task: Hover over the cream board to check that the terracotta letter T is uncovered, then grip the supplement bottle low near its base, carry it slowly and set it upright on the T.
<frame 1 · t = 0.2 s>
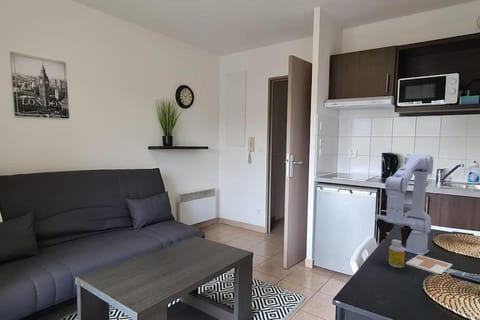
hand: (393, 242, 110), 10 cm above the table, tool pointing down, fingers open, 7 cm apart
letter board: (428, 264, 113), on the table
supplement bottle: (396, 265, 113), on the table
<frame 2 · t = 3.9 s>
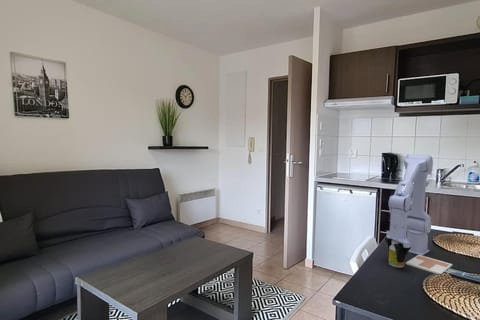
hand: (396, 259, 112), 2 cm above the table, tool pointing down, fingers closed on supplement bottle, 5 cm apart
supplement bottle: (396, 265, 113), on the table, touching gripper
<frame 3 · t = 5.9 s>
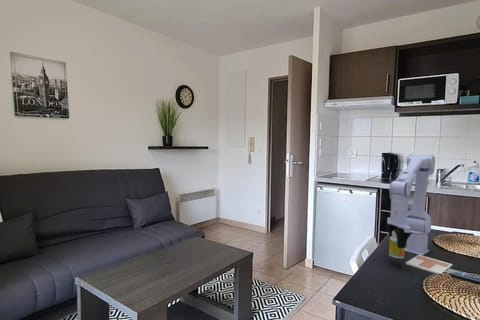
hand: (397, 245, 112), 8 cm above the table, tool pointing down, fingers closed on supplement bottle, 5 cm apart
supplement bottle: (396, 256, 112), point 3 cm above the table, touching gripper
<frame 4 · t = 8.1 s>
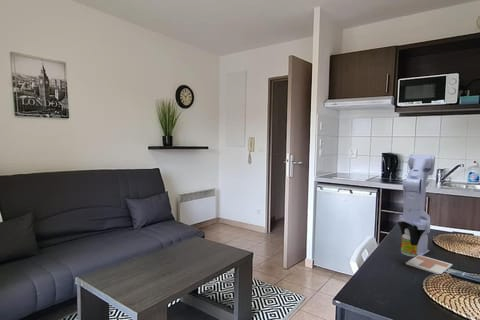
hand: (409, 242, 112), 9 cm above the table, tool pointing down, fingers closed on supplement bottle, 5 cm apart
supplement bottle: (408, 254, 112), point 4 cm above the table, touching gripper
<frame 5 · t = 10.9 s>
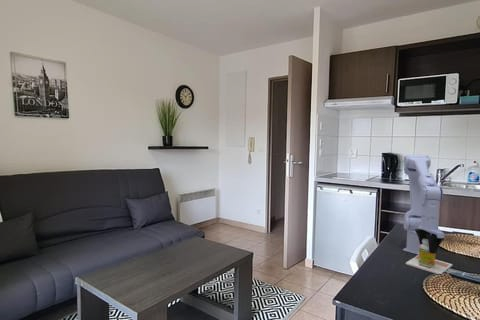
hand: (428, 250, 112), 6 cm above the table, tool pointing down, fingers closed on supplement bottle, 5 cm apart
supplement bottle: (426, 264, 112), point 1 cm above the table, touching gripper, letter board
when the fingers open (4 cm above the table, at t = 12.0 s): supplement bottle stays where it is, resting on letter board.
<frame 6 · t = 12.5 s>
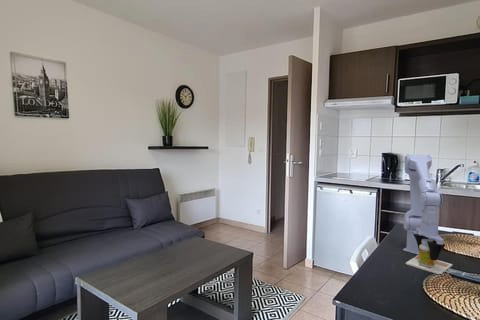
hand: (427, 256, 112), 4 cm above the table, tool pointing down, fingers open, 7 cm apart
supplement bottle: (426, 265, 112), resting on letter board
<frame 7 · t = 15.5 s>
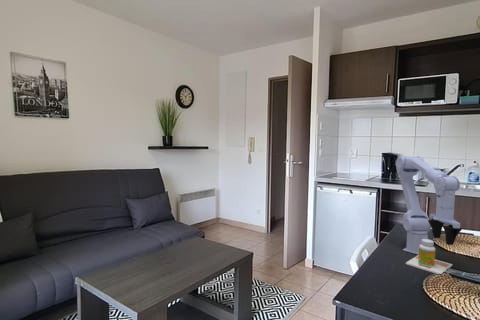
hand: (442, 241, 111), 10 cm above the table, tool pointing down, fingers open, 7 cm apart
nothing on the table moved.
at the end: supplement bottle inside the target area on the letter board (0.6 cm from its centre), point 0.5 cm above the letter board's base; supplement bottle tilted 0°; the gripper is holding nothing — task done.
